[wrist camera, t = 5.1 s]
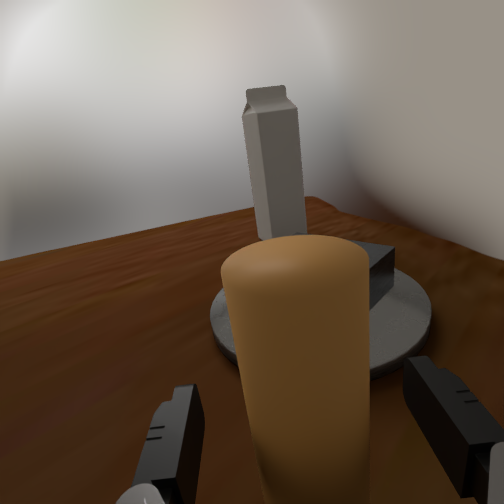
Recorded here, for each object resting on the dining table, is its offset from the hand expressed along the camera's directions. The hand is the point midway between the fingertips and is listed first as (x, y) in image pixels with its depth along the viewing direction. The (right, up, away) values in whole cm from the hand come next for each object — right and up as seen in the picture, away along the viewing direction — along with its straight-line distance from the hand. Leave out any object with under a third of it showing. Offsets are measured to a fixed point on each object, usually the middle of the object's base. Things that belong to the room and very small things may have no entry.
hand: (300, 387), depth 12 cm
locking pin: (+1, -8, +2) cm, 8 cm away
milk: (+3, +7, +40) cm, 41 cm away
